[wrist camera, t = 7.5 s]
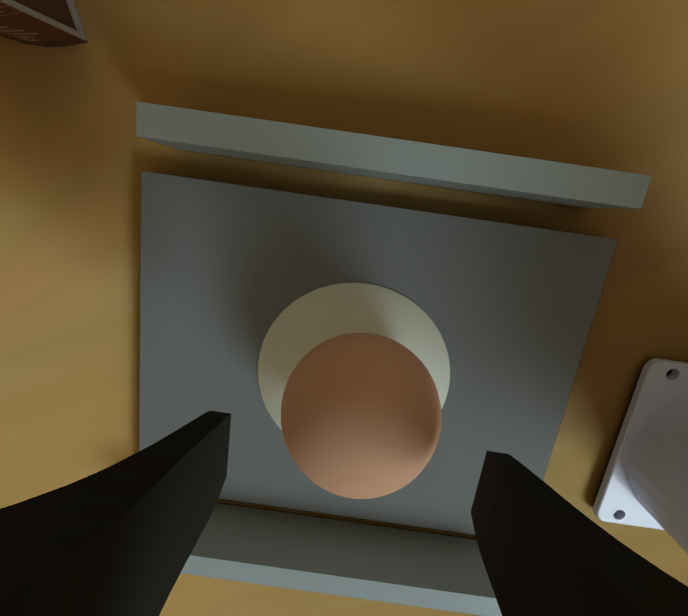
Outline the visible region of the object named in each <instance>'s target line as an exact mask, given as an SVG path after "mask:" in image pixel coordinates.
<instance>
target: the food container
mask: <svg viewBox="0 0 688 616" xmlns="http://www.w3.org/2000/svg"><path fill="white" fill-rule="evenodd" d="M0 35H1V36H4V37H7V38H10V39H13V40H16V41H19V42H22V43H25V44H31V45H37V46H44V47H63V46H71V45H76V44H80V43H85V42H88V40H87V38H86V35H85V32H84V29H83V26H82V23H81V20H80V17H79V15H78V12H77V9H76V6H75V3H74V0H0Z"/></svg>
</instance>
